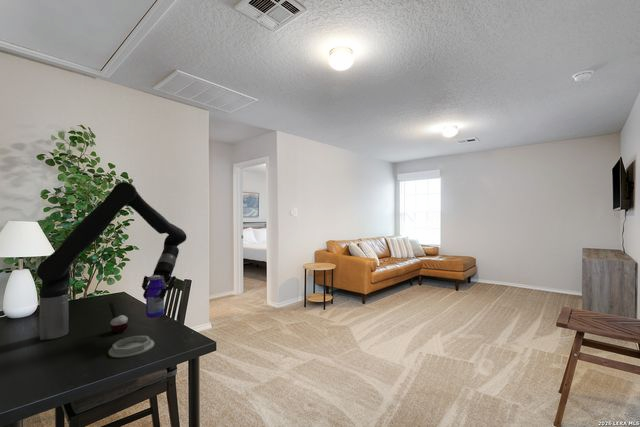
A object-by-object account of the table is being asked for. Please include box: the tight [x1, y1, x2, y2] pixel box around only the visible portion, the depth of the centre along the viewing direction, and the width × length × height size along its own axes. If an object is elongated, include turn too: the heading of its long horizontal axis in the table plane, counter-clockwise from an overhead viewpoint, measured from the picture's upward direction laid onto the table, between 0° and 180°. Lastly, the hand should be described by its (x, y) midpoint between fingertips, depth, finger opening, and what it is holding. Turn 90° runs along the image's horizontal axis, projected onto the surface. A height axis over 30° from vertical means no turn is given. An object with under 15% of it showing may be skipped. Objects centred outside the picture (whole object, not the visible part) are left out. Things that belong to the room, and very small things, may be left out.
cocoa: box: [108, 302, 129, 334], centre depth 135 cm, size 10×6×12 cm, turn 51°
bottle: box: [145, 275, 165, 319], centre depth 133 cm, size 7×6×17 cm
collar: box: [107, 335, 155, 358], centre depth 118 cm, size 15×15×2 cm
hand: (153, 297), depth 131 cm, fingers closed on bottle, 6 cm apart
